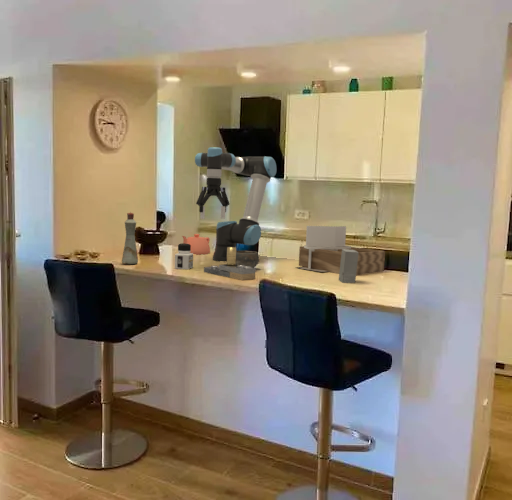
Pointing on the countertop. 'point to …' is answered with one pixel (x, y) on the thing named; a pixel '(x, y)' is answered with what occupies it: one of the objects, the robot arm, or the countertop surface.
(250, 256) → the bowl
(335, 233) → the white panel on stand
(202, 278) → the countertop surface
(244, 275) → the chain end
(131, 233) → the bottle
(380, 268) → the holder caddy
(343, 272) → the skincare box
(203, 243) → the teapot
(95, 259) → the countertop surface
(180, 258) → the container
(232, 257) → the pin
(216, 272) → the chain end
